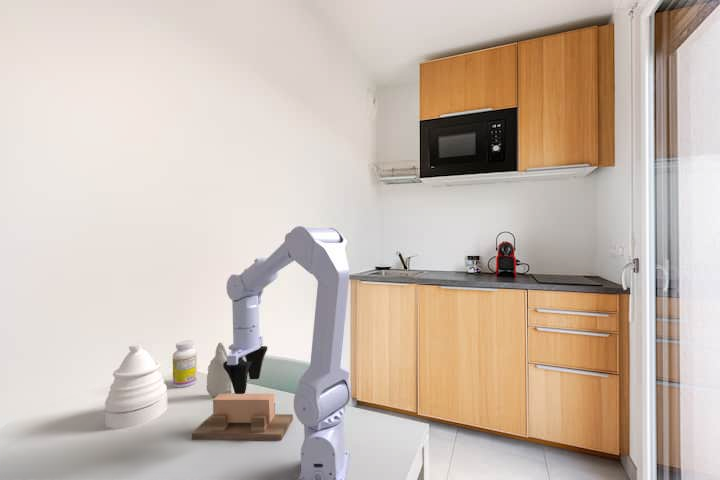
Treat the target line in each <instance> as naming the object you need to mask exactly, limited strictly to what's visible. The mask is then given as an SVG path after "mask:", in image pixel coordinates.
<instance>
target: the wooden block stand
mask: <svg viewBox="0 0 720 480" xmlns="http://www.w3.org/2000/svg"><path fill="white" fill-rule="evenodd" d="M274 413H275V416H274V417H273V419H272V420H271V422H270V423H266V415H252V417H251V423H234V422H227V418H226V415H213V413H211V415H210V416H208V417H206V419H205V420H204V421H203V422H202V423H201V424H200V425H199V426H198V427H197V428H196V429H194V431H193V432H191V440H247V441H248V440H249V441H251V440H252V441H253V440H255V441H259V440H260V441H282V440H283V439H284V437H285V435H286V433H287V431H288V429H289V428H290V426H291V423H292V421H293V420H294V415H293V414H291V413H290V414H289V413H286V414H285V413H284V414H281V413H280V414H279V413H277V414H276V403H275V402H274Z"/></svg>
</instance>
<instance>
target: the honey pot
mask: <svg viewBox="0 0 720 480" xmlns="http://www.w3.org/2000/svg"><path fill="white" fill-rule="evenodd" d="M128 349H129V352H128V353H127V354H126V356H125V357H124V359H123V360H122V362H121V364H120V365H119V367H118V368H116V369H115V370H114V371H113V374H112V376H113V377H114V379H113V382H112V384H110V388H109V392H108V394H107V395H108V396H107V397H106V400H105V402H104V403H105V404H104V406H105V410H104V422H105V423H104V425H105V426H106V427H107V428H108V429H114V430H119V429H126V428H133V427H137V426H140V425H143V424H146V423H148V422H151V421H153V420H154V419H157V418H158V417H160V416H162V415H163V414H164V413H165V412H166V411H167V409H168V387H167V384H166V383H165V380H164V378H163V373H161V372H160V370H159V369H160V368H161V366H162V363H161V362H160V361H158V360H155V359H154V358H153V357H152V355H150V353H149V352H148V351H147V350H145V349H144V348H142V343H133V344H129V346H128Z"/></svg>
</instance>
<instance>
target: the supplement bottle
mask: <svg viewBox="0 0 720 480" xmlns="http://www.w3.org/2000/svg"><path fill="white" fill-rule="evenodd" d="M175 343H176V342H175ZM175 349H176V350H175V351H174V353H173V354H172V382H173V383H172V384H173V387H175V388H186V387H190V386H192V385H195V384H196V382H198V351H197V349H195V348H194V340H191V339H190V340H182V341H178V342H177V343H176V344H175Z"/></svg>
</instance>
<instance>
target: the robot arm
mask: <svg viewBox="0 0 720 480" xmlns="http://www.w3.org/2000/svg"><path fill="white" fill-rule="evenodd" d="M347 247H348V240H347V238H345V237H344V235H343V234H342V233H341V232H340V230H338V229H336V228H335V227H328V228H324V227H305V226H301V225H299V226H296V227H294V228H293V229H291V231H290V232H288V233H286V234H285V235H284V241H283V243H282V244H281V245H280V246H278V247H277V248H276V250H274V251H273V252H272V253H271V254H270V255H269V256H268V257H257V258H255V259H254V260H253V261H254V263H252V264H251V265H250V266H248V267H247V268H244V269H243V272H242V273H240V274H237V273H236V274H231V275H230V276H229V277H228V279H227V281H226V293H227V296H228V298H229V299H230V300H231V301H232V303H231V304H232V305H231V306H232V337H233V338H232V341H233V342H232V344H230V345H229V346H228V350H230V352H229V354H227V361H225V362H224V363H223V368H224V369H225V370H226V372H227V373H228V375H229V377H230V379H231V382H232V383H231V385H232V388H233V389H232V390H233V391H234V394H246V390H247V385H248V383H247V382H248V378H249V379H250V380H259V379H260V377H261V371H262V366H263V362H264V359H265V356H266V353H267V351H268V346H266V345H264V336H260V311H259V310H260V309H259V308H260V307H259V305H261V302H262V295H263V293H264V288H266V287H267V286H269V285H271V284H272V283H273V282H274V281H275V280H277V278H278V276H279V271H281V270H282V269H284V268H285V267H287V266H288V265H290V264H291V263H293V262H294V261H295V262H296V263H297V264H298V265H299V266H301V267H302V268H303V269H304V270H306V272H308V273H309V274H311V275H313V277H314V278H315V279H316V281H317V288H316V289H317V290H316V299H315V309H314V321H313V330H312V331H313V332H312V342H311V343H312V344H311V353H310V365H309V366H308V367H307V369H306V370H305V372H304V373H303V374H302V376H301V377H300V379H299V381H298V382H299V383H298V389H297V391H296V392H295V394H294V397H293V410H294V414H295V416H296V418H297V419H298V421H299V422H300V423H301V424H302V425H303V427H304V428H303V429H304V430H303V431H304V434H303V435H304V438H303V443H302V445H301V449H300V469H301V470H300V473H299V475H298V478H297V480H345V479H346V475H347V470H348V462H349V458H350V451H349V450H347V449H346V450H345V427H344V426H345V425H344V424H345V423H344V421H345V420H344V414H345V413H346V406H347V404H349V402H350V401H351V399H352V398H351V397H352V390H351V386H350V382H349V381H350V380H349V378H350V373H349V372H350V371H348V370H347V368H345V367H344V366H343V365H341V362H342V355H343V354H342V353H343V345H344V344H343V343H344V334H345V333H344V332H345V325H346V324H345V322H346V312H347V304H348V294H349V293H348V292H349V282H350V267H349V263H348V259H347ZM244 358H245V359H244Z"/></svg>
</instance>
